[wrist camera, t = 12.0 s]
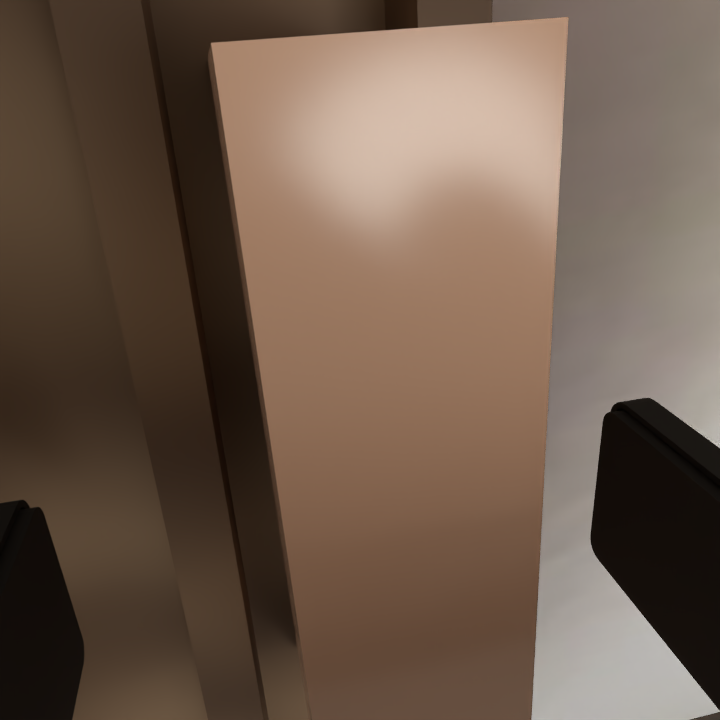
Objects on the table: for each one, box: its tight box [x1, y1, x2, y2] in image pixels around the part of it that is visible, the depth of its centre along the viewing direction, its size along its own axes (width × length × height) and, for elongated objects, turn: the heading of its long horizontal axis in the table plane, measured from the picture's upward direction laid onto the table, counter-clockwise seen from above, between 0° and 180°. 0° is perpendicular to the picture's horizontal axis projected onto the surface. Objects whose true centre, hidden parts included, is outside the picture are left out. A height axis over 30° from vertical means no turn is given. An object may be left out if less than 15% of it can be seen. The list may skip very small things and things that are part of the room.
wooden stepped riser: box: [0, 0, 492, 720], centre depth 14 cm, size 24×12×4 cm, turn 4°
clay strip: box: [207, 17, 568, 720], centre depth 11 cm, size 14×2×8 cm, turn 4°
